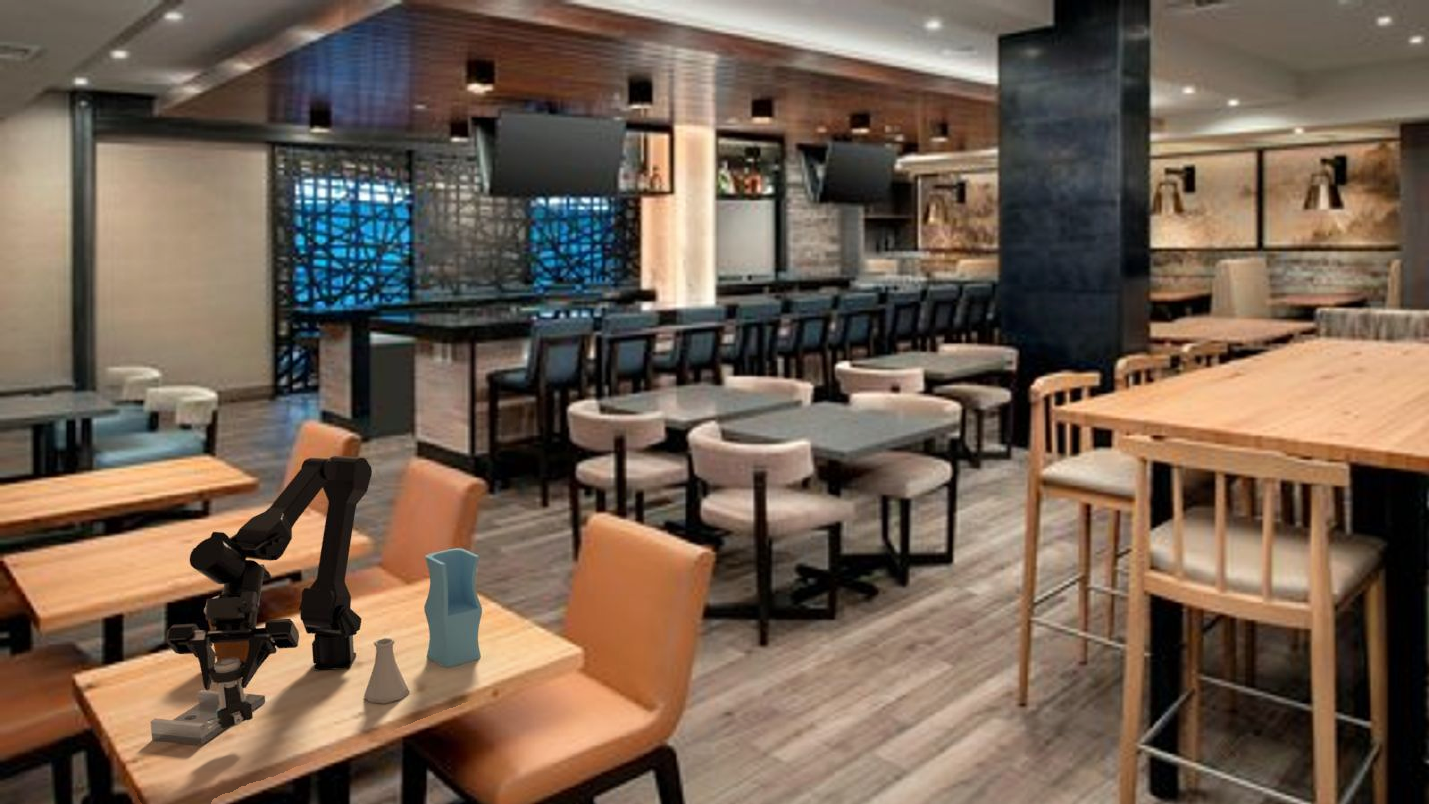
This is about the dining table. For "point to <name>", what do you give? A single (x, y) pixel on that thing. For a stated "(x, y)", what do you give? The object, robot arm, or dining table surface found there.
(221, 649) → the disposable coffee cup
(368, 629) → the dining table surface
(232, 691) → the push button
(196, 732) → the bracket
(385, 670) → the flask
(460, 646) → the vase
